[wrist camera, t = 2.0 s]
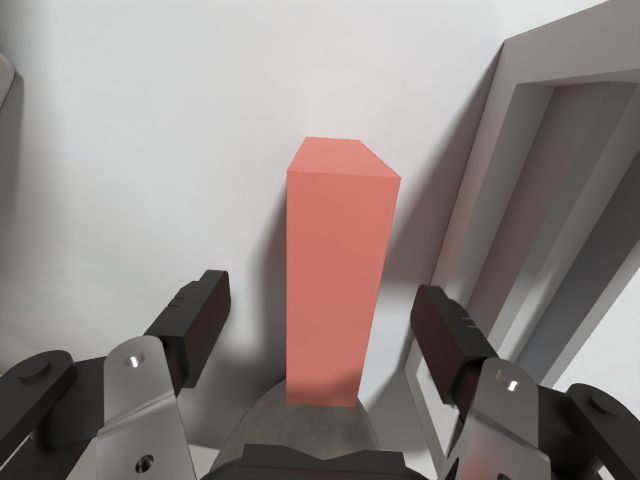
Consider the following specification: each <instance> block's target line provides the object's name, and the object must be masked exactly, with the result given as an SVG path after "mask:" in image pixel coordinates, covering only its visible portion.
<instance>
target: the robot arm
mask: <svg viewBox="0 0 640 480" xmlns="http://www.w3.org/2000/svg"><path fill="white" fill-rule="evenodd" d="M230 307H231V297H230V286H229V276H228V272H227V271H221V270H207V271H206V272H205V273H204V274H203V276H202V277H201V278H200V280H199V281H192V282H190V283H189V284H187V285H186V286H184V287H182V288H181V289H180V290H179V292H178V293H177V294H176V295H175V296H174V299H172V300H171V301H170V303H169V304H168V306H167V307H165V309H164V310H163V311H162V312H161V314H160V315H159V316H158V317H157V318H156V320H155V321H154V322H153V323H152V325H151V326H150V327H149V328H148V329H147V331H146V332H145V333H144V334H143V336H139V337H135V338H132V339H129V340H127V341H125V342H123V343H121V344H120V345H118V346H117V347H115V348H114V349H113V350H112V351H111V352H110V353H109V354H108V356H105V357H100V358H95V359H89V360H84V361H79V362H74V361H73V359H72V357H71V355H70V354H69V353H68V352H66V351H63V350H53V351H47V352H43V353H40V354H37V355H34V356H32V357H30V358H28V359H25V360H23V361H22V362H20V363H18V364H17V365H15V366H14V367H12V368H11V369H10V370H8V371H7V372H6V373H5V374H4V375H2V376H1V377H0V467H1V466H2V465H3V464H4V462H5V461H6V460H7V459H8V458H9V457H10V455H11V454H12V453H13V452H14V451H15V450H16V448H17V447H18V446H19V445H20V444H21V442H23V440H24V439H25V438H26V437H27V436H28V435H29V436H30V437H29V438H28V439H27V441H26V442H25V443H24V444H23V445H22V446H21V447H20V449H19V450H18V451H17V452H16V453H15V455H14V456H13V457H12V458H11V459H10V460H9V462H8V463H7V464H6V465H5V466H4V467H3V469H2V470H1V471H0V480H66V478H67V476H68V475H69V474H70V472H71V471H72V469H73V468H74V466H75V464H76V463H77V461H78V460H79V458H80V456H81V455H82V454H83V452H84V451H85V449H86V448H87V446H88V445H89V443H90V442H91V440H92V439H93V438H94V437H97V441H96V480H197V478H196V474H195V470H194V466H193V463H192V459H191V455H190V451H189V447H188V443H187V439H186V435H185V431H184V427H183V423H182V419H181V415H180V411H179V407H178V403H177V399H176V398H177V396H178V395H179V393H180V391H181V389H182V388H194V387H195V385H196V383H197V381H198V379H199V377H200V375H201V373H202V370H203V368H204V366H205V364H206V362H207V360H208V358H209V356H210V354H211V351H212V349H213V347H214V345H215V343H216V341H217V339H218V337H219V334H220V332H221V330H222V328H223V326H224V324H225V322H226V320H227V318H228V315H229V312H230ZM410 323H411V328H412V330H413V333H414V335H415V338H416V340H417V343H418V345H419V347H420V350H421V352H422V355H423V357H424V360H425V362H426V364H427V367H428V369H429V372H430V374H431V377H432V379H433V381H434V384H435V386H436V389H437V391H438V394H439V396H440V399H441V401H442V403H443V404H446V405H456V406H457V408H458V410H459V413H458V415H457V417H456V420H455V424H454V427H453V431H452V434H451V438H450V441H449V444H448V448H447V451H446V455H445V458H444V462H443V465H442V468H441V471H440V474H439V476H438V478H437V480H603V479H602V477H601V476H600V474H599V473H598V471H599V470H600V469H601V468H602V467H603V466H605V467H606V469H607V470H608V471H609V473H610V474H611V475H612V477H613V478H614V479H615V480H640V421H639V420H638V419H637V418H636V417H635V416H634V415H633V414H632V413H631V412H630V411H629V410H628V409H627V408H626V407H625V406H624V405H623V404H621V403H620V402H619V401H618V400H616V399H615V398H614V397H612V396H610V395H609V394H607V393H605V392H604V391H602V390H600V389H598V388H595V387H593V386H590V385H586V384H581V383H576V384H573V385H571V386H570V387H569V389H568V390H567V391H566V393H563V392H560V391H557V390H553V389H550V388H547V387H544V386H541V385H538V384H536V383H535V382H534V380H533V379H532V378H531V376H530V375H529V374H528V373H527V372H525V371H524V370H523V369H522V368H520V367H519V366H517V365H516V364H514V363H512V362H510V361H508V360H505V359H501V358H500V357H499V356H498V354H497V353H496V351H495V350H494V349H493V347H492V346H491V345H490V343H489V342H488V340H487V339H486V338H485V336H484V335H483V334H482V332H481V331H480V329H479V328H477V325H476V324H475V323H474V321H473V320H471V317H470V316H469V314H468V313H467V311H466V310H465V309H464V308H463V307H462V306H461V305H460V304H458V303H457V302H456V301H455V300H453V299H449V298H448V296H447V295H446V294H445V292H444V291H443V289H442V288H441V287H440V286H432V285H420V286H419V288H418V290H417V294H416V297H415V301H414V304H413V308H412V311H411V316H410ZM200 480H429V479H427V478H426V477H424V476H423V475H421V474H420V473H418V472H416V471H414V470H412V469H410V468H408V467H406V465H405V461H404V457H403V452H394V451H376V450H362V451H358V452H354V453H351V454H347V455H343V456H339V457H336V458H332V459H328V460H322V459H319V458H316V457H313V456H311V455H308V454H305V453H303V452H300V451H297V450H295V449H292V448H289V447H287V446H284V445H267V444H248V443H245V445H244V450H243V454H242V457H240V458H236V459H234V460H231V461H229V462H226V463H224V464H222V465H220V466H218V467H217V468H215V469H213V470H212V471H211V472H209V473H208V474H206V475H205V476H204V477H202V479H200Z"/></svg>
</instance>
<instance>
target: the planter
mask: <svg viewBox="0 0 640 480" xmlns="http://www.w3.org/2000/svg"><path fill="white" fill-rule="evenodd" d="M245 443H248V444H267V445H284V446H287V447H289V448H292V449H295V450H297V451H300V452H303V453H305V454H308V455H311V456H313V457H316V458H319V459H322V460H328V459H332V458H336V457H339V456H343V455H347V454H351V453H354V452H358V451H362V450H376V451H380V447H379V444H378V441H377V438H376V435H375V432H374V429H373V427H372V424H371V422H370V420H369V417H368V415H367V413H366V411H365V409H364V407H363V405H362V404H361V402H360V400H359V399H358V397H357V401H356V406H355V407H347V406H325V405H303V404H286V379H284V380H282V381H281V382H279V383H278V384H276V385H275V386H273V387H272V388H271V389H269V390H268V391H267V392H266V393H265V394H263V395H262V396H261V397H260V398H259V399H258V400H257V401H256V402H255V403H254V404H253V406H252V407H251V408H250V409H249V410H248V411H247V412H246V414H245V415H244V416H243V417H242V419H241V420H240V421H239V423H238V424H237V425H236V427H235V428H234V430H233V431H232V433H231V434H230V436H229V437H228V439H227V440H226V442H225V444H224V445H223V447H222V449H221V450H220V452H219V454H218V456H217V458H216V459H215V461H214V463H213V465H212V467H211V469H210V471H209V472H211V471H212V470H213V469H215V468H217V467H218V466H220V465H222V464H224V463H226V462H229V461H231V460H234V459H236V458H240V457H242V454H243V450H244V445H245Z"/></svg>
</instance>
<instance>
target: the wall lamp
mask: <svg viewBox="0 0 640 480" xmlns="http://www.w3.org/2000/svg"><path fill="white" fill-rule="evenodd" d="M13 79H14V68H13V66H12V64H11V63H10V61H9V60H8V59H7V58H6V57H5V56H3V55H2V54H1V53H0V108H1V106H2V103H3V101H4V99H5V97H6V95H7V93H8V91H9V89H10V87H11V84H12V82H13Z"/></svg>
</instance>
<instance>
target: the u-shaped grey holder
mask: <svg viewBox="0 0 640 480" xmlns="http://www.w3.org/2000/svg"><path fill="white" fill-rule="evenodd" d="M639 267H640V0H609V1H607V2H604V3H601V4H599V5H596V6H593V7H591V8H588V9H585V10H583V11H580V12H577V13H575V14H572V15H569V16H567V17H564V18H561V19H559V20H556V21H553V22H551V23H548V24H545V25H543V26H540V27H537V28H535V29H532V30H529V31H527V32H524V33H521V34H519V35H516V36H513V37H511V38H508V39H505V42H504V46H503V49H502V52H501V55H500V59H499V62H498V65H497V68H496V72H495V75H494V78H493V81H492V85H491V88H490V91H489V94H488V98H487V101H486V104H485V107H484V111H483V114H482V117H481V120H480V124H479V127H478V130H477V134H476V137H475V140H474V143H473V147H472V150H471V153H470V156H469V160H468V163H467V166H466V169H465V173H464V176H463V179H462V182H461V186H460V189H459V192H458V195H457V199H456V202H455V205H454V208H453V212H452V215H451V218H450V221H449V225H448V228H447V231H446V234H445V238H444V241H443V244H442V248H441V251H440V254H439V257H438V261H437V264H436V267H435V270H434V274H433V277H432V280H431V283H430V285H432V286H440V287H441V288H442V289H443V291H444V292H445V294H446V295H447V296H448V298H449V299H453V300H455V301H456V302H457V303H458V304H460V305H461V306H462V307H463V308H464V309H465V310H466V311H467V313H468V314H469V316H470V317H471V320H473V321H474V323H475V324H476V325H477V328H479V329H480V331H481V332H482V334H483V335H484V336H485V338H486V339H487V340H488V342H489V343H490V345H491V346H492V347H493V349H494V350H495V351H496V353H497V354H498V356H499V357H500V358H501V359H505V360H508V361H510V362H512V363H514V364H516V365H517V366H519V367H520V368H522V369H523V370H524V371H525V372H527V373H528V374H529V375H530V376H531V378H532V379H533V380H534V382H535V383H536V384H538V385H541V386H544V387H547V388H550V389H552V387H553V386H554V384H555V383H556V382H557V380H558V379H559V378H560V376H561V375H562V373H563V372H564V371H565V369H566V368H567V367H568V365H569V364H570V362H571V361H572V360H573V358H574V357H575V356H576V354H577V353H578V351H579V350H580V349H581V347H582V346H583V344H584V343H585V342H586V340H587V339H588V338H589V336H590V335H591V333H592V332H593V331H594V329H595V328H596V327H597V325H598V324H599V322H600V321H601V320H602V318H603V317H604V316H605V314H606V313H607V311H608V310H609V309H610V307H611V306H612V304H613V303H614V302H615V300H616V299H617V298H618V296H619V295H620V293H621V292H622V291H623V289H624V288H625V287H626V285H627V284H628V282H629V281H630V280H631V278H632V277H633V276H634V274H635V273H636V271H637V270H638V269H639ZM404 370H405V374H406V377H407V380H408V383H409V387H410V390H411V393H412V396H413V399H414V403H415V406H416V409H417V412H418V415H419V419H420V422H421V425H422V428H423V431H424V435H425V438H426V441H427V444H428V448H429V451H430V454H431V457H432V460H433V464H434V467H435V470H436V473H437V476H439V474H440V471H441V468H442V465H443V462H444V458H445V455H446V451H447V448H448V444H449V441H450V438H451V434H452V431H453V427H454V424H455V420H456V417H457V415H458V413H459V410H458V408H457V406H456V405H446V404H443V403H442V401H441V399H440V396H439V394H438V391H437V389H436V386H435V384H434V381H433V379H432V377H431V374H430V372H429V369H428V367H427V364H426V362H425V360H424V357H423V355H422V352H421V350H420V347H419V345H418V343H417V340H416V338H415V335H414V339H413V342H412V345H411V348H410V352H409V355H408V358H407V361H406V365H405V368H404ZM598 473H599V474H600V476H601V477H602V479H603V480H615V479H614V478H613V477H612V475H611V474H610V473H609V471H608V470H607V469H606V467H605V466H603V467H602V468H601V469H600V470H599V471H598Z"/></svg>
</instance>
